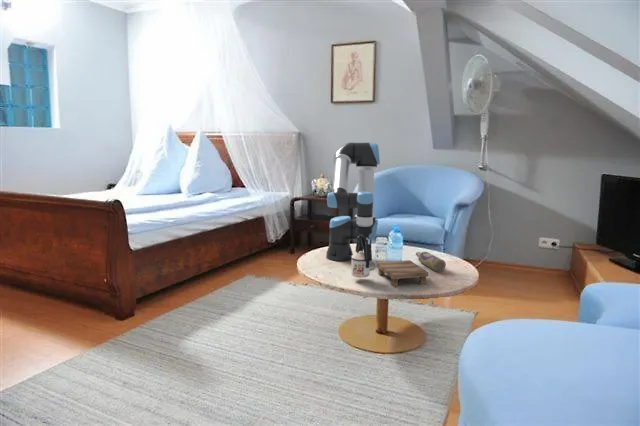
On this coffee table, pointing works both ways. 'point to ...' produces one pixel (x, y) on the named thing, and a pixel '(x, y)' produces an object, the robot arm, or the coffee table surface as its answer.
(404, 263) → the walnut stand
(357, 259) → the teacup with lid
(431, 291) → the coffee table surface
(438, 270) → the decorative bottle
